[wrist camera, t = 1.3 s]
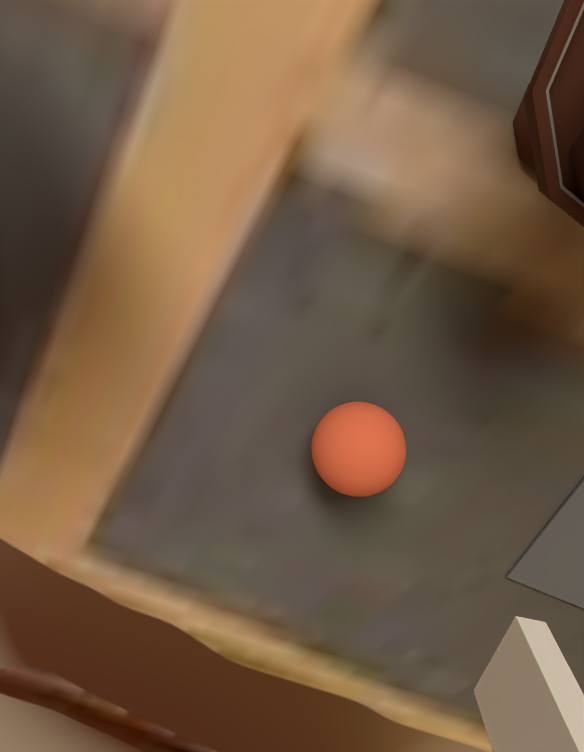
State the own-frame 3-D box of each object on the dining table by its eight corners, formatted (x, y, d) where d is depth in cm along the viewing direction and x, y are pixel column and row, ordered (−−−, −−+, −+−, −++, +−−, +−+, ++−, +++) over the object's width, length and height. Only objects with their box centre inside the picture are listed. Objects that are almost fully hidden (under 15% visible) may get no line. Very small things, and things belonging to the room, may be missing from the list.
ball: (297, 444, 32) (294, 494, 27) (334, 373, 30) (338, 412, 25) (373, 476, 33) (383, 530, 28) (414, 408, 31) (433, 453, 26)
